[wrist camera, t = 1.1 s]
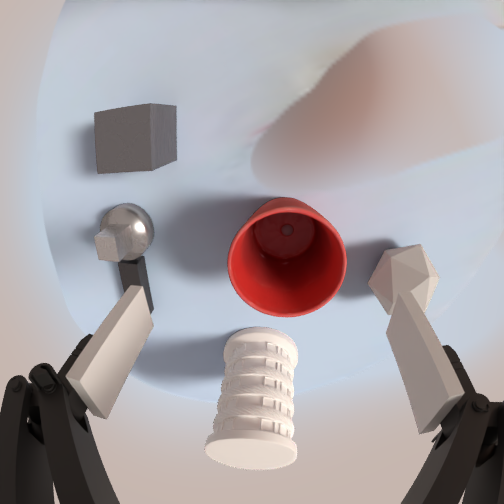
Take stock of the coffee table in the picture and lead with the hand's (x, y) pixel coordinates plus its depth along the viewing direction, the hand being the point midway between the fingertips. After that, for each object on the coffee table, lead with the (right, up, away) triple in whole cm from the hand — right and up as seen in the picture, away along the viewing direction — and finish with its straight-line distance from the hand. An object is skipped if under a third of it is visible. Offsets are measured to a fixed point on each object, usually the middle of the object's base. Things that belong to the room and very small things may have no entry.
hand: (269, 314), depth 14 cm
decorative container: (+1, -13, +29) cm, 32 cm away
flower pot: (+3, +6, +20) cm, 21 cm away
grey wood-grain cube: (-13, +17, +16) cm, 26 cm away
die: (+18, +1, +20) cm, 27 cm away
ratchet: (-17, +2, +23) cm, 29 cm away
